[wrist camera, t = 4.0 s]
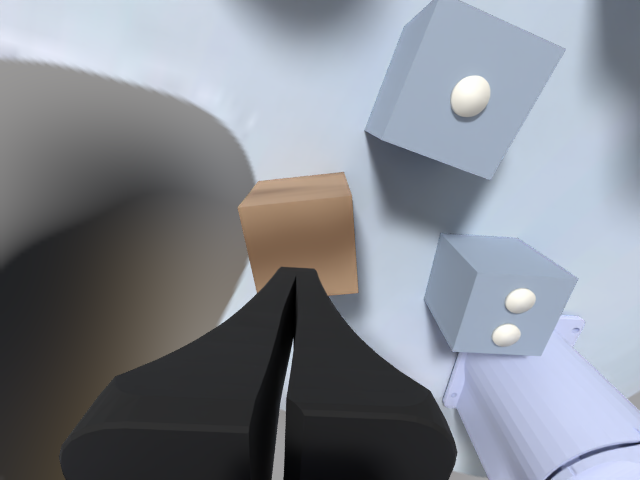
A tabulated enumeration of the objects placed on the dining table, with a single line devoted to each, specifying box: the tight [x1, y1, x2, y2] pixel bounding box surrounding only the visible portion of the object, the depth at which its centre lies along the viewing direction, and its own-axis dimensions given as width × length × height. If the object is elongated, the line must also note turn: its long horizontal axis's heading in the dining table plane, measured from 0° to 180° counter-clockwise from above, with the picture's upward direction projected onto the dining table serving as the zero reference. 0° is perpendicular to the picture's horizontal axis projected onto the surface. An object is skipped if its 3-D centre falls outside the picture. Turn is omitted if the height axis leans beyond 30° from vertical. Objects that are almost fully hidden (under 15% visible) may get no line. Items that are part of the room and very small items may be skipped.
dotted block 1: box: [365, 0, 566, 180], centre depth 14 cm, size 5×5×5 cm
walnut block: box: [238, 172, 358, 296], centre depth 16 cm, size 5×5×5 cm
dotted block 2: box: [424, 233, 578, 356], centre depth 18 cm, size 5×5×5 cm
